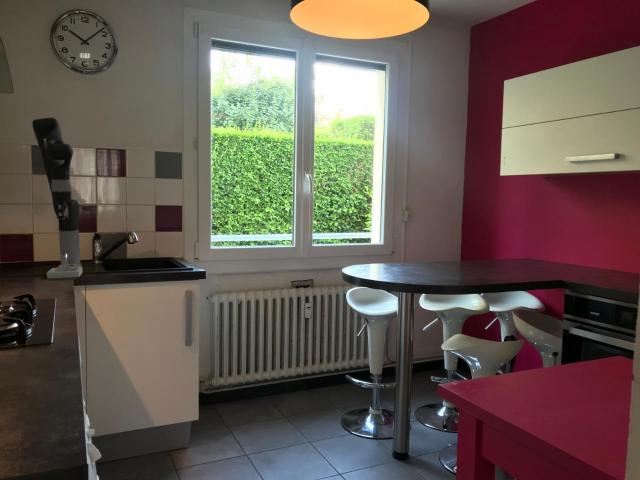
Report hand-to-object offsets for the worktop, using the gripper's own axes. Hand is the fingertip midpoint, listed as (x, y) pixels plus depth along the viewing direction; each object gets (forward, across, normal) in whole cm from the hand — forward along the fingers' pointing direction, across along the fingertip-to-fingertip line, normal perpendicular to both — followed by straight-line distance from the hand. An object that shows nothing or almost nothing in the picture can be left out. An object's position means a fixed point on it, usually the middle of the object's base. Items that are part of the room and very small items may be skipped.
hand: (63, 227), depth 230 cm
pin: (+21, 0, 0) cm, 21 cm away
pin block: (+22, -12, 0) cm, 25 cm away
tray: (+22, 0, 0) cm, 22 cm away
